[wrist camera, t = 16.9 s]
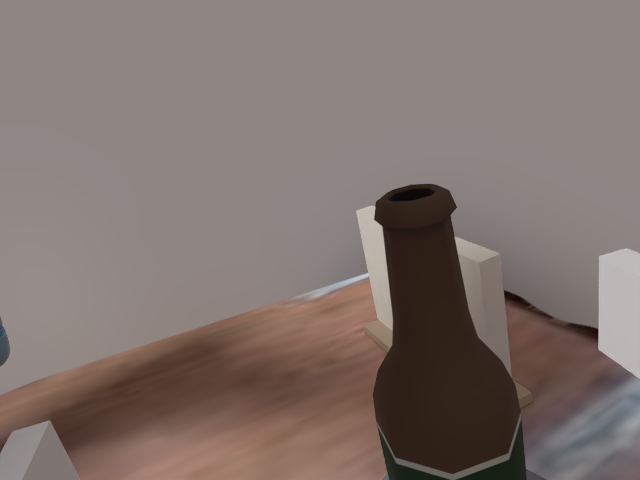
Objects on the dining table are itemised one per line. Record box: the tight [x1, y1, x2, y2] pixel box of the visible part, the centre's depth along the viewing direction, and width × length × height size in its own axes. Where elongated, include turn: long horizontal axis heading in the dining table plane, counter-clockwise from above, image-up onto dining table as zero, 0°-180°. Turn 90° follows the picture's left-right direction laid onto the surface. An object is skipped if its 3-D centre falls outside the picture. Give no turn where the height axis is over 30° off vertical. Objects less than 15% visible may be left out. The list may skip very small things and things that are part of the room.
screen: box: [356, 206, 533, 409], centre depth 48 cm, size 20×6×15 cm, turn 23°
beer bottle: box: [373, 184, 527, 480], centre depth 26 cm, size 8×8×24 cm
